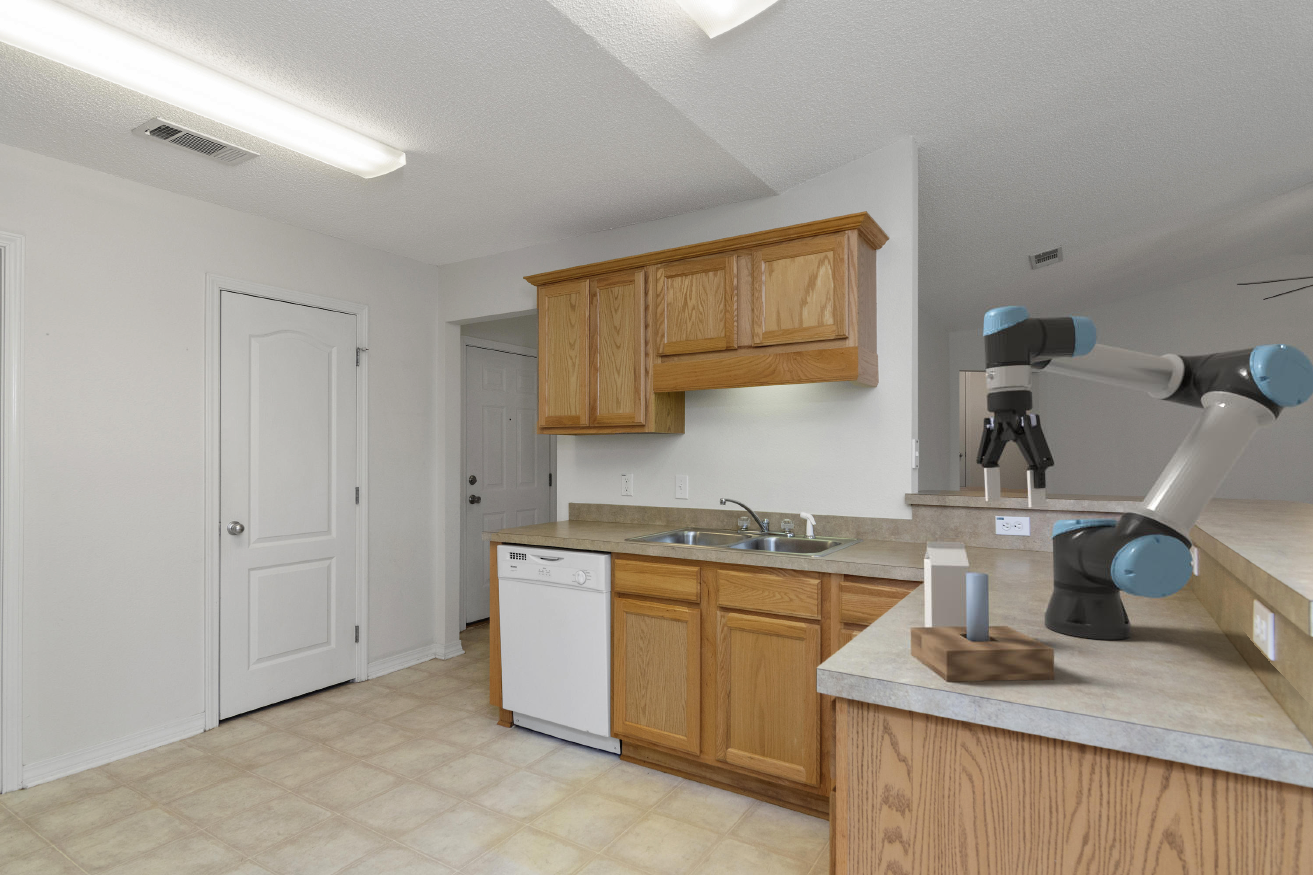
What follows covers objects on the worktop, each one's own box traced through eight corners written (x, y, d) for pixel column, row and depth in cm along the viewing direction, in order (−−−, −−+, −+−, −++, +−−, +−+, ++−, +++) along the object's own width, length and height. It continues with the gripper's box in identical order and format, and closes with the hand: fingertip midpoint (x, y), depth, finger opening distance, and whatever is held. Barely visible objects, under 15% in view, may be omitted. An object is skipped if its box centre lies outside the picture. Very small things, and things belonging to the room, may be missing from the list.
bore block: (1006, 652, 124) (1006, 625, 124) (1054, 679, 110) (1053, 648, 110) (911, 654, 124) (910, 627, 124) (946, 681, 110) (946, 650, 110)
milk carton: (970, 642, 131) (969, 545, 131) (931, 640, 132) (930, 544, 133) (961, 632, 138) (960, 540, 138) (924, 631, 139) (923, 539, 140)
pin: (982, 656, 119) (981, 572, 119) (993, 663, 115) (992, 576, 116) (963, 657, 119) (962, 572, 119) (973, 663, 115) (972, 576, 115)
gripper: (955, 396, 138) (959, 499, 138) (1031, 385, 113) (1037, 511, 113) (990, 395, 138) (995, 497, 138) (1074, 383, 114) (1079, 508, 113)
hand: (1014, 503), depth 126 cm, fingers open, 13 cm apart
